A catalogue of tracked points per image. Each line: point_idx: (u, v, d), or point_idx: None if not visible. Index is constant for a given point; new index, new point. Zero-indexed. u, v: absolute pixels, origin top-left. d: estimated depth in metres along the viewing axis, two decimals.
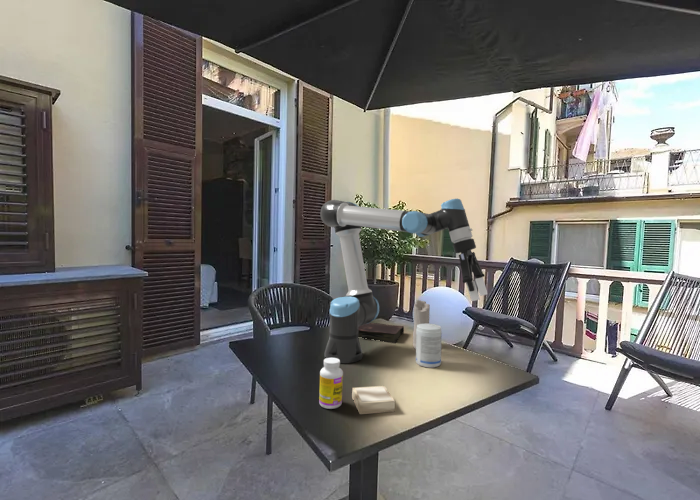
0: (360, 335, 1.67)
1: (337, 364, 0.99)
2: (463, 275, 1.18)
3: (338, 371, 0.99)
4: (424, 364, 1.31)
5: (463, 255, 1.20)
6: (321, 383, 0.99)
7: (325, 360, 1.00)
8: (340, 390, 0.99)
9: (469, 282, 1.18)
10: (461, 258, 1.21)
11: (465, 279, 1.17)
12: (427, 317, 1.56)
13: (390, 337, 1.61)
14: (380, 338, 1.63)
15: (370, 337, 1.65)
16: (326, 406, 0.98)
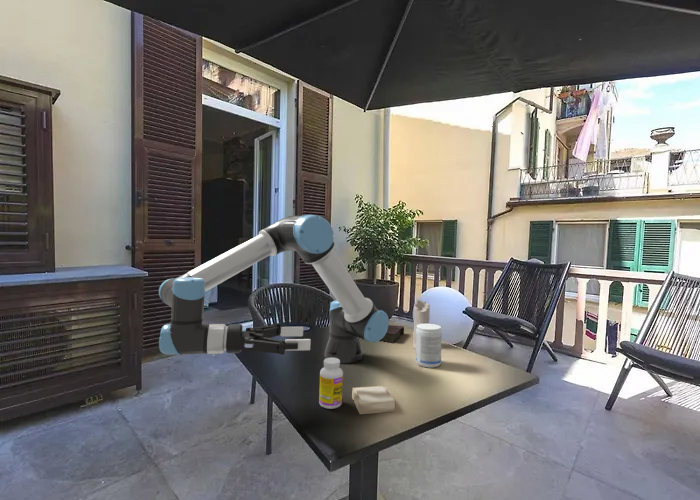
0: None
1: (337, 364, 0.99)
2: None
3: (338, 371, 0.99)
4: (424, 364, 1.31)
5: None
6: (321, 383, 0.99)
7: (325, 360, 1.00)
8: (340, 390, 0.99)
9: None
10: None
11: None
12: (427, 317, 1.56)
13: (389, 337, 1.61)
14: None
15: None
16: (326, 406, 0.98)
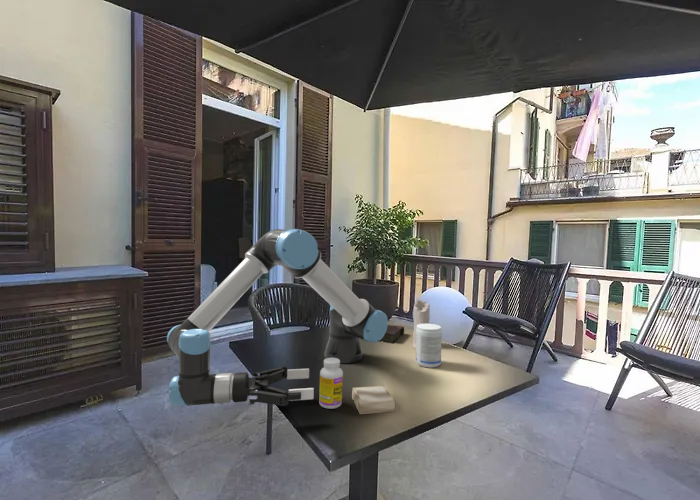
0: None
1: (337, 364, 0.99)
2: None
3: (338, 371, 0.99)
4: (424, 364, 1.31)
5: None
6: (321, 383, 0.99)
7: (325, 360, 1.00)
8: (340, 390, 0.99)
9: None
10: None
11: None
12: (427, 317, 1.56)
13: (389, 337, 1.61)
14: None
15: None
16: (326, 406, 0.98)
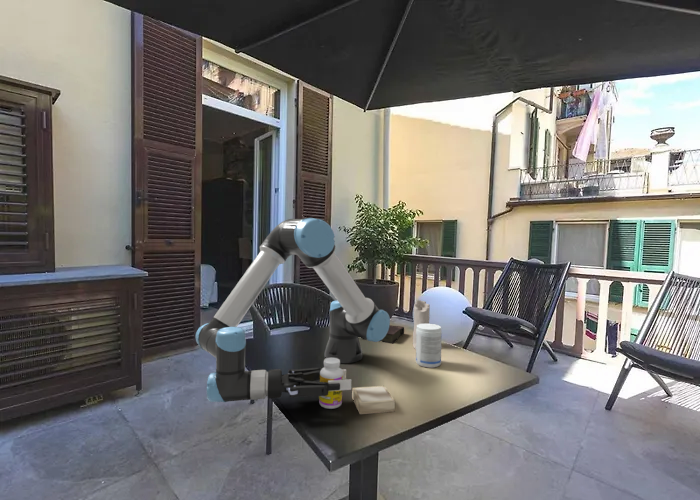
0: None
1: (337, 364, 0.99)
2: None
3: (338, 371, 0.99)
4: (424, 364, 1.31)
5: None
6: None
7: (325, 360, 1.00)
8: (340, 390, 0.99)
9: None
10: None
11: None
12: (427, 317, 1.56)
13: (388, 337, 1.61)
14: None
15: None
16: (326, 406, 0.98)
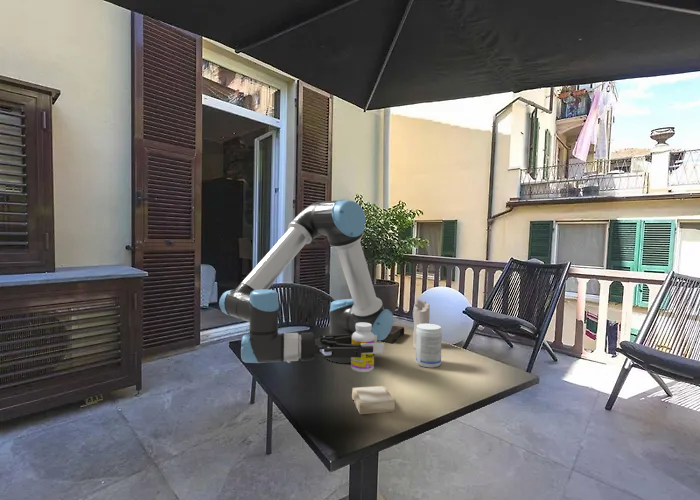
0: None
1: (369, 327, 0.98)
2: None
3: (370, 335, 0.98)
4: (424, 364, 1.31)
5: None
6: None
7: (357, 324, 1.00)
8: (372, 354, 0.98)
9: None
10: None
11: None
12: (427, 317, 1.56)
13: (387, 337, 1.61)
14: None
15: None
16: (358, 369, 0.97)
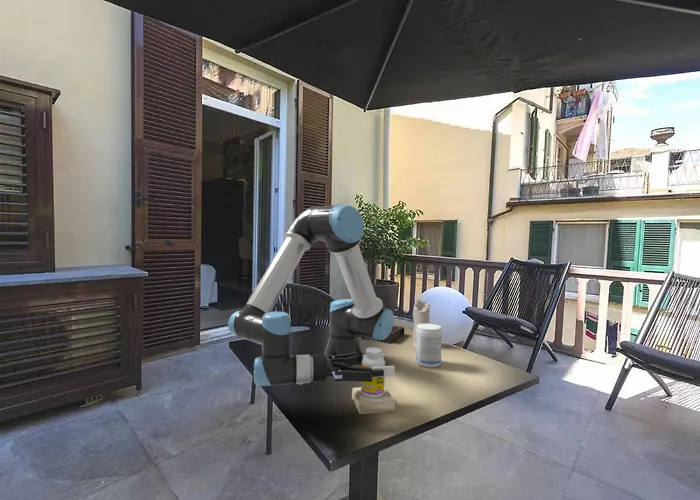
0: (358, 335, 1.67)
1: (380, 353, 0.99)
2: None
3: (381, 360, 0.99)
4: (424, 364, 1.31)
5: None
6: None
7: (367, 349, 1.01)
8: (383, 379, 0.99)
9: None
10: None
11: None
12: (427, 317, 1.56)
13: (387, 337, 1.61)
14: None
15: None
16: (369, 395, 0.98)
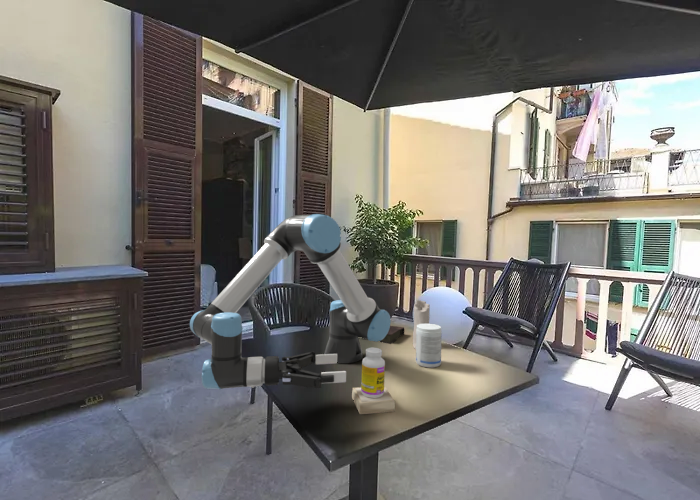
0: None
1: (380, 354, 0.99)
2: None
3: (381, 360, 0.99)
4: (424, 364, 1.31)
5: None
6: (364, 372, 0.99)
7: (367, 350, 1.01)
8: (383, 379, 0.99)
9: None
10: None
11: None
12: (427, 317, 1.56)
13: (386, 337, 1.60)
14: None
15: None
16: (369, 395, 0.98)
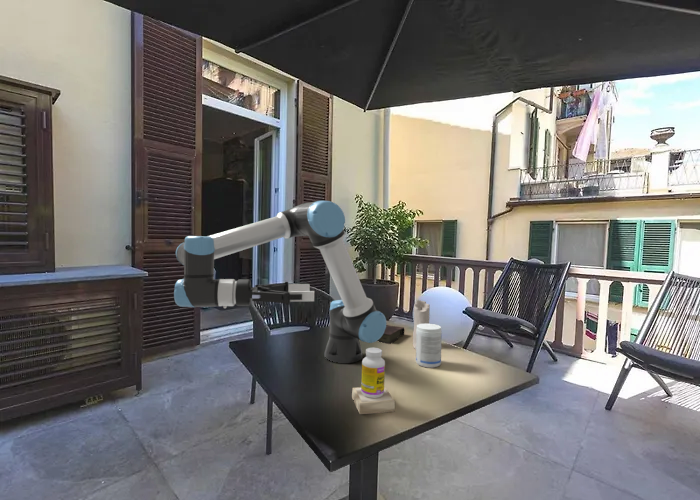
0: None
1: (380, 354, 0.99)
2: None
3: (381, 360, 0.99)
4: (424, 364, 1.31)
5: None
6: (364, 372, 0.99)
7: (367, 350, 1.01)
8: (383, 379, 0.99)
9: None
10: None
11: None
12: (427, 317, 1.56)
13: (385, 338, 1.60)
14: None
15: None
16: (369, 395, 0.98)
